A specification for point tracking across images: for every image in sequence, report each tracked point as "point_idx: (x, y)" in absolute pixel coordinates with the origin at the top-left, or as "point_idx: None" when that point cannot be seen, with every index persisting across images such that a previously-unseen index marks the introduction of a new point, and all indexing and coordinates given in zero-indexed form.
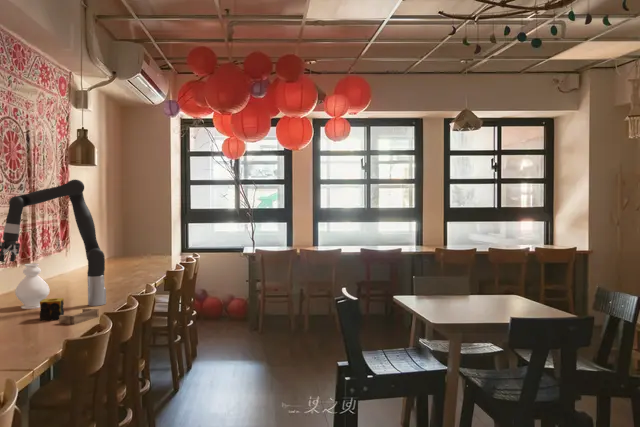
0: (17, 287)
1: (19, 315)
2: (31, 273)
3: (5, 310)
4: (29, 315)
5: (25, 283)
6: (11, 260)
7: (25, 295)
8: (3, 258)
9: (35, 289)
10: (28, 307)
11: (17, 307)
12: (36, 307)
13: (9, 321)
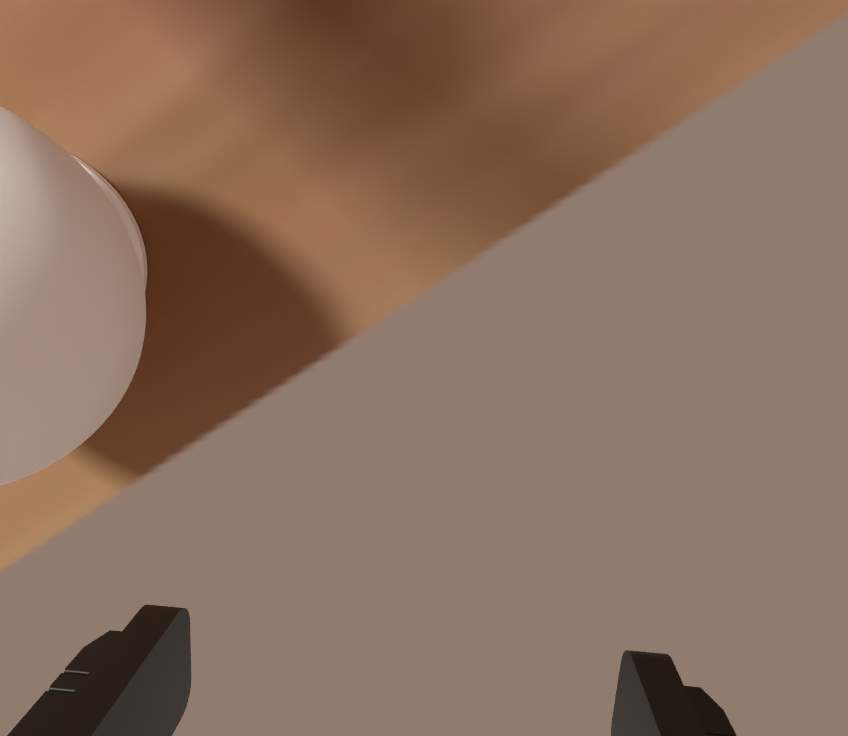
0: (61, 438)
1: (466, 119)
2: None
3: (251, 405)
4: (464, 4)
5: (15, 341)
6: (180, 676)
7: (137, 267)
8: (692, 715)
9: (26, 165)
10: (132, 241)
11: None
12: (91, 169)
13: (745, 39)
